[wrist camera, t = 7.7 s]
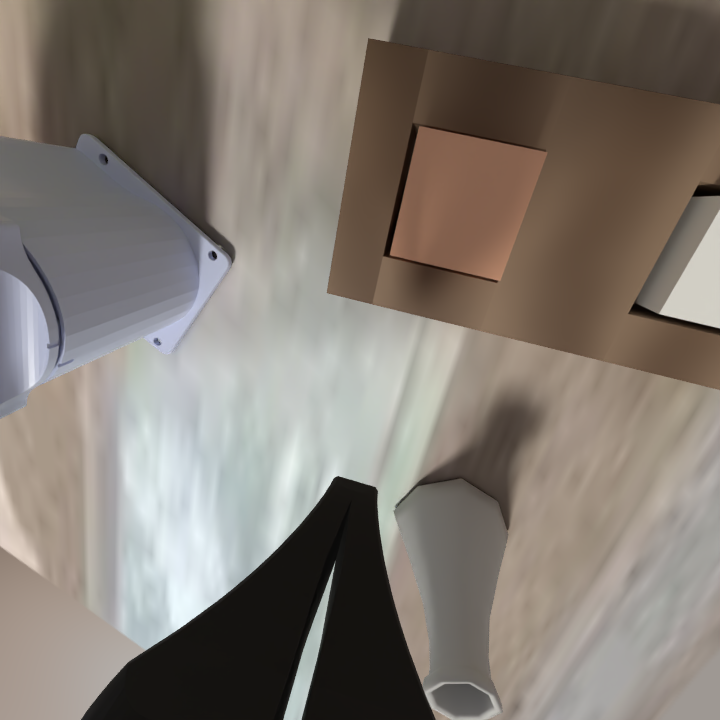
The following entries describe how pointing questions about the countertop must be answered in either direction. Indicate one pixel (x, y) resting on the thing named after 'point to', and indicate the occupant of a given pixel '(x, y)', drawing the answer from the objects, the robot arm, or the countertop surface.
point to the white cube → (688, 267)
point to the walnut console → (536, 205)
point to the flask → (456, 590)
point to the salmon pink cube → (464, 202)
